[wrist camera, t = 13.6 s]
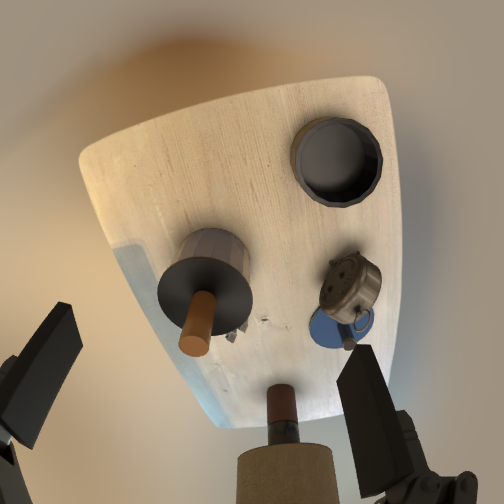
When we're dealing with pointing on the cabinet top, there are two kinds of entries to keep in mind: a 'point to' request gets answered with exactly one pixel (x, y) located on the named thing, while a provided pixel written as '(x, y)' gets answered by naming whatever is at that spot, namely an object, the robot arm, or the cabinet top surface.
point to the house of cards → (242, 329)
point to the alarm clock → (350, 289)
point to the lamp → (286, 461)
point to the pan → (336, 161)
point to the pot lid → (338, 331)
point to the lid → (204, 300)
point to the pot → (216, 249)
